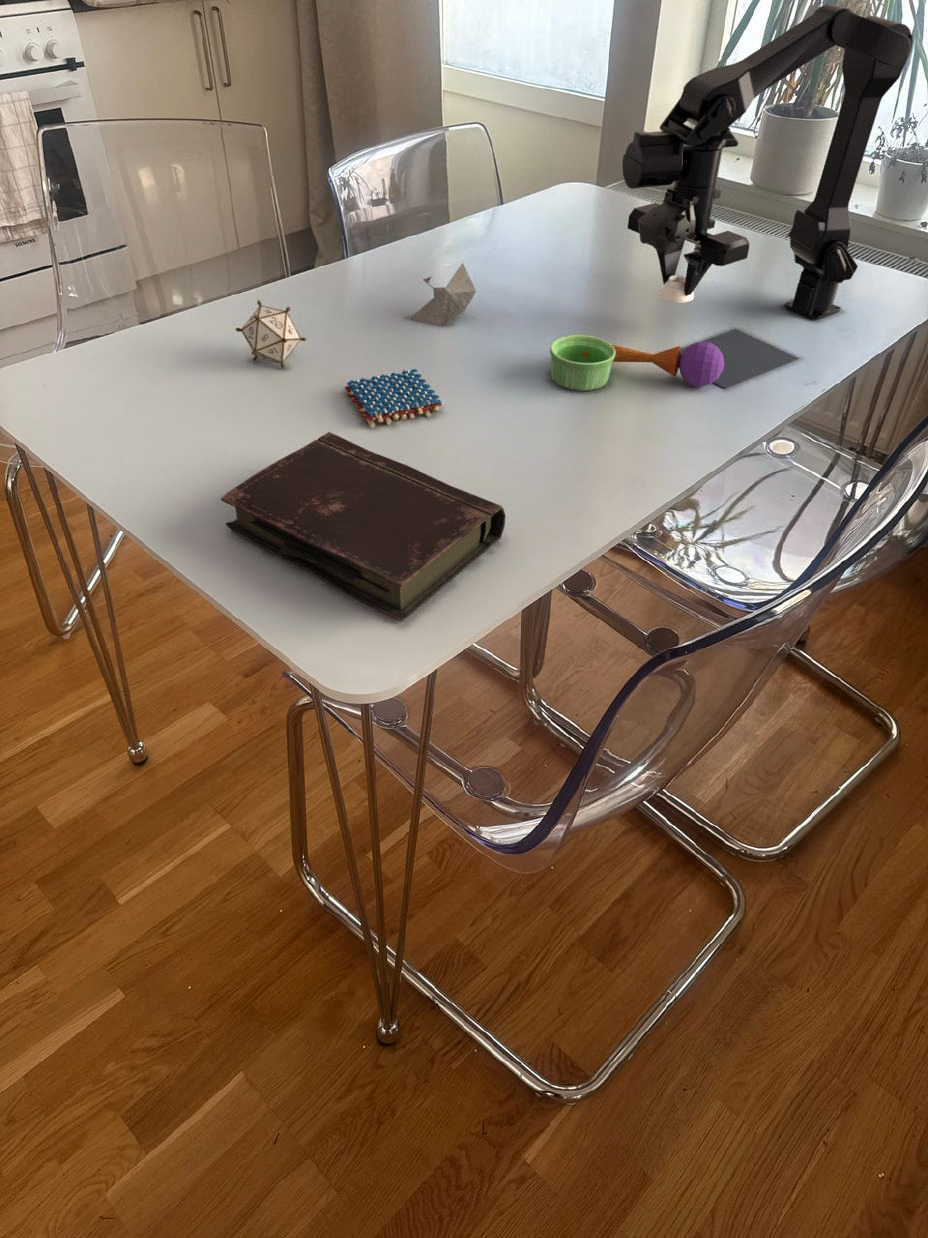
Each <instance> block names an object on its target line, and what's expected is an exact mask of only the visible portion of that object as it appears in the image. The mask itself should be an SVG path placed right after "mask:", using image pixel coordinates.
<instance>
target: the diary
mask: <svg viewBox="0 0 928 1238" xmlns="http://www.w3.org/2000/svg"><path fill="white" fill-rule="evenodd" d="M220 501H222V502H223V503H225V504H227V505H229V506H232V507H233V508H234V509H235V514H236V519H234V520H233V521H229V522H225V526H226V527H227V528H229V530H230V531H232V532H233V533H236V534H237V535H239V536H241V537H243V539H245V540H248V541H249V542H251V543H253V544H255V545H256V546H258V547H260V548H262V549H264V550H265V551H267V552H269V553H271V554H273V555H275V556H277V557H279V558H281V559H283V560H285V561H288V562H290V563H292V564H294V565H296V566H298V567H300V568H303V569H305V570H307V571H308V572H310V573H312V574H313V575H315V576H317V577H318V578H320V579H322V580H324V581H325V582H327V583H328V584H330V585H331V586H333V587H335V588H337V590H340V591H341V592H343V593H345V594H346V595H348V596H349V597H351V598H353V599H355V600H356V601H359V602H361V603H363V604H365V605H368V606H370V607H372V608H374V609H376V610H378V611H380V612H382V613H385V614H387V615H389V616H390V617H393V618H395V619H397V620H399V621H401V622H403V621H404V620H406V619H407V618H408V617H409V616H410V615H412V614H413V613H414V612H415V611H416V610H418V609H419V608H420V607H421V606H422V605H424V603H426V602H427V601H428V600H430V598H432V597H433V596H434V595H436V594H437V593H438V592H439V591H440V590H441V589H442V588H444V587H445V586H446V585H447V584H449V583H450V582H451V581H453V579H454V578H456V577H457V576H458V575H459V574H460V573H462V572H463V571H464V570H465V569H466V568H468V567H469V566H470V565H472V564H473V563H474V562H475V561H476V560H477V559H478V558H479V557H481V556H482V555H484V554H485V553H486V552H487V551H488V550H489V549H490V548H491V547H492V546H494V545H495V544H496V543H497V542H498V541H500V540H501V538H502V536H503V534H504V530H505V526H506V511H505V510H504V507H503V506H502V505H501V504H499V503H496V502H493V501H491V500H487V499H485V498H483V497H480V496H478V495H475V494H472V493H470V492H467V491H465V490H463V489H461V488H457V487H455V486H453V485H450V484H448V483H447V482H444V481H441V480H439V479H437V478H435V477H433V476H431V475H429V474H427V473H425V472H423V471H420V470H418V469H416V468H414V467H411V466H409V465H407V464H404V463H401V462H399V461H396V460H394V459H391V458H389V457H387V456H383V455H381V454H378V453H376V452H374V451H371V450H369V449H366V448H364V447H362V446H360V445H359V444H356V443H354V442H351V441H349V440H348V439H345V438H343V437H342V436H339V435H337V434H335V433H333V432H330V431H328V432H326V433H325V434H323V435H321V436H319V437H318V438H317V439H314V440H312V441H311V442H309V443H308V444H306V445H304V446H303V447H301V448H299V449H297V450H295V451H293V452H291V453H290V454H288V455H286V456H284V457H282V458H280V459H278V460H276V461H275V462H273V463H272V464H270V465H268V466H267V467H265V468H263V469H261V470H260V471H258V472H257V473H255V474H253V475H252V476H250V477H249V478H247V479H246V480H244V481H243V482H241V483H239V484H238V485H236V486H235V487H233V488H232V489H231V490H229V491H228V492H226V493H225V494H224V495H223V496H222V497H221V498H220Z"/></svg>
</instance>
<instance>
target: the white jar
mask: <svg viewBox="0 0 928 1238" xmlns="http://www.w3.org/2000/svg"><path fill="white" fill-rule="evenodd" d="M685 279H686V275H682V274H681V275H680V274H675V275H673V276H670V277H669V279H668V281H667V282H666V283H665V284H663V285H662V286H661V288H660V289H659V297H660V298H661V299H663V300H665V301H666V302H669V303H672V304H684V303H689V302H690V301H692V300H693V299H694V295H695V294H694V291H693V292H692V294H691V295H688V296H685V293H684V285H685Z"/></svg>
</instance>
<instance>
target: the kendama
mask: <svg viewBox="0 0 928 1238" xmlns="http://www.w3.org/2000/svg"><path fill="white" fill-rule="evenodd" d="M610 344H611V343H610ZM611 345H612V346H613V347H614V349H615V357H614V360H613V361H612V363H652V364H654V365H655V366H657V367H659V368H660V369H661V370H663V371H665V372H666V373H668V374H669V375H671V376H672V377H674V378H675V377H677V375H678V371H679V374H680V376H681V377H682V379H683V380H684V382H686V383H687V384H689V385H690V386H694V387H700V388H703V387H705V386H709V385H712V384H714V383H713V382H714V381H715V380H717V379H718V378H719V376H720V374H721V373H722V371H723V368H724V359H723V354H722V353H721V351H720V350H719V348H718V347H717V346H715V345H713V344H711V343H709V342H702V341H698V342H694V343H691V344H690V345H688V346H689V347H688V346H686V347H687V348H686V349H685V350H684V352H683V353H682V355H681V349H682V346H681V345H678V346H674V347H672V348H669V349H665V350H662V351H660V352H659V351H658V352H656V353H650V352H646V351H641V350H637V349H633V348H629V347H624V346H621V345H617V344H611ZM588 356H589V353H587V352H583V353H582V357H588Z"/></svg>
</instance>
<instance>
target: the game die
mask: <svg viewBox="0 0 928 1238" xmlns="http://www.w3.org/2000/svg"><path fill="white" fill-rule="evenodd" d="M256 304H257V305H258V307H257V309H256V310H255V311H254V312H253V314H252V315H251V316H250V317H249V319H247V321H246V323H245V324H244V325H243V326H242V328H240V327H236V328H234V330H235V331H236V332H237V333H238V332H239V333H240V332H241V333H242V335H243V337H244V339H245V341H246V343H247V344H248V346H249V347H250V349H251V356H253V357H252V362H255V361H257V360H258V359H262V360H266V361H270V362H275V363H279V364H280V366H281V368H282V369H285V368H286V365H285V361H286V359H287V358H288V357H289V356H290V354H291V353H292V352H293V350H294V349H295V348H296V346H297V345H298V344H299V343H300V341H302V342H306V341H308V339H307V338H306V337H305V336H304V337H301V335H300V334H299V332H298V330H297V328H296V326H295V324H294V322H293V320H292V318H291V316H290V314H289V312H290V311H291V307H290V306H288V307H286V308H285V310H283V309H279V308H274V307H269V306H265V305H262V301H261V300H260V299H257V303H256Z"/></svg>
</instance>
